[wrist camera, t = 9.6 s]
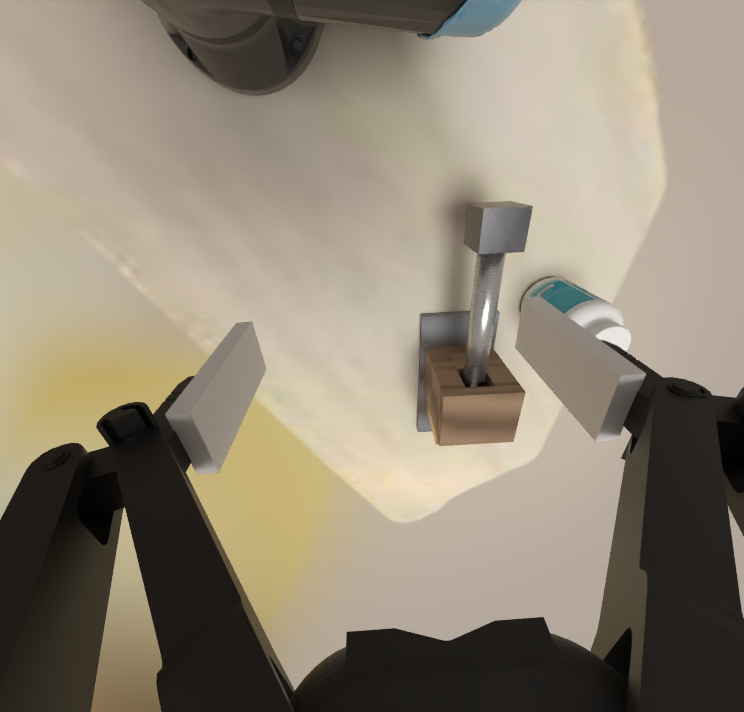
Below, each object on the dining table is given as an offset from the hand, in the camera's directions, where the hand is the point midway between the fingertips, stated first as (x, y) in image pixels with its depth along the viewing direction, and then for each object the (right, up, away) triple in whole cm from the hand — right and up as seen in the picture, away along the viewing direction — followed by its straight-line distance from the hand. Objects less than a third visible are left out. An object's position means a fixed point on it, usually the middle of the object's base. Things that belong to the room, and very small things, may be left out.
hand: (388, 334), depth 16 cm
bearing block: (+12, -4, +36) cm, 38 cm away
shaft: (+12, +5, +23) cm, 26 cm away
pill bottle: (+24, +7, +30) cm, 39 cm away
